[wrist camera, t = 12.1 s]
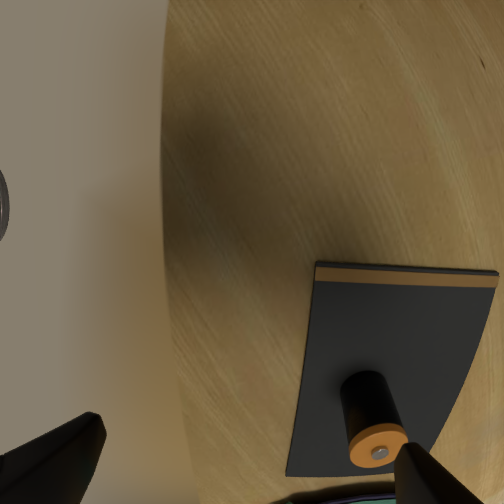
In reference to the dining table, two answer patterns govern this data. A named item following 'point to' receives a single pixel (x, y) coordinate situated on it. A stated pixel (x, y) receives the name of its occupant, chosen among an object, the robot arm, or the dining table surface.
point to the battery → (371, 420)
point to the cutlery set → (364, 499)
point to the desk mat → (385, 353)
